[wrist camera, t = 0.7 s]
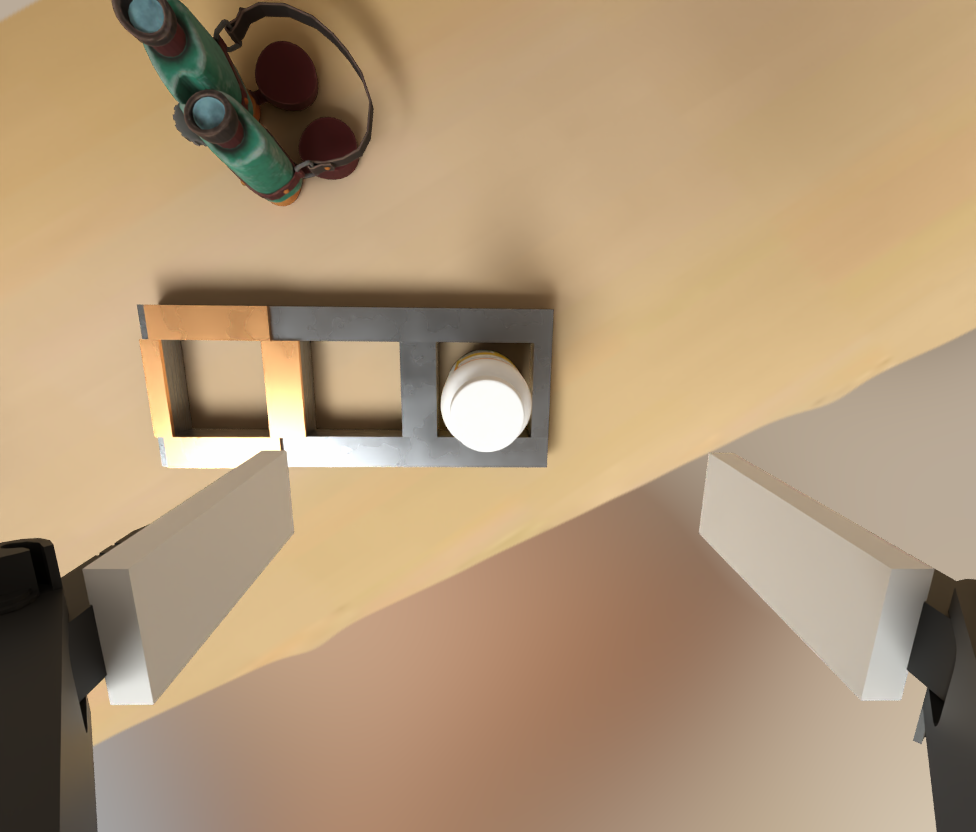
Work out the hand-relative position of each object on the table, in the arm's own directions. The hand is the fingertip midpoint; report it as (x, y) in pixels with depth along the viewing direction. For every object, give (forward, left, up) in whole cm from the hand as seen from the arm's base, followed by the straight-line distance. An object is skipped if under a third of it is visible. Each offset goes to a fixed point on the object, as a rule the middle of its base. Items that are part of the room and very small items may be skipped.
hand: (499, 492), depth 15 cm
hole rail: (-9, 0, -20) cm, 22 cm away
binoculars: (-12, +17, -20) cm, 29 cm away
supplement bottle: (0, 0, -20) cm, 20 cm away
